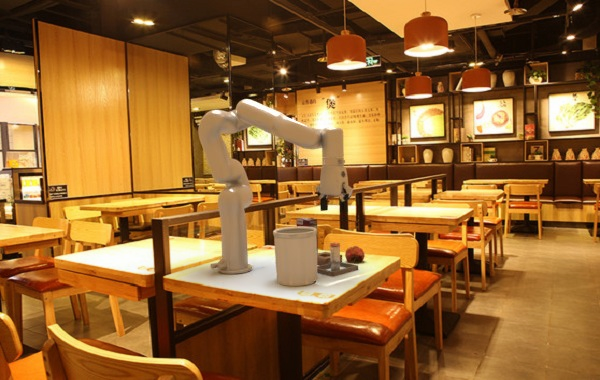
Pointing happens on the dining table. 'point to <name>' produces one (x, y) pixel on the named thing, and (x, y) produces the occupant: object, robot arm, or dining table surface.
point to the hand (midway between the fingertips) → (333, 211)
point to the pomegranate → (354, 254)
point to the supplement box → (308, 224)
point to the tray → (338, 272)
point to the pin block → (324, 258)
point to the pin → (335, 256)
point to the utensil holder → (296, 255)
